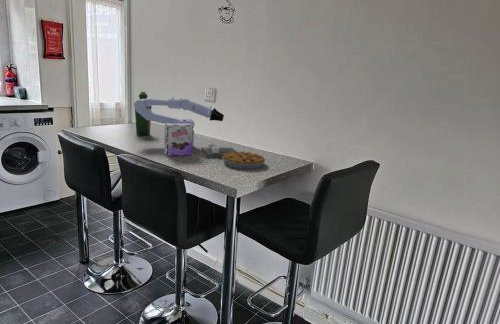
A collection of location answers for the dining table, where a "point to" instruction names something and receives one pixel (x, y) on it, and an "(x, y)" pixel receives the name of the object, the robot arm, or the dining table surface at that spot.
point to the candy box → (178, 139)
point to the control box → (210, 154)
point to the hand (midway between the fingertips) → (223, 118)
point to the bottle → (142, 120)
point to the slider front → (215, 149)
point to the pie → (243, 160)
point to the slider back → (211, 145)
